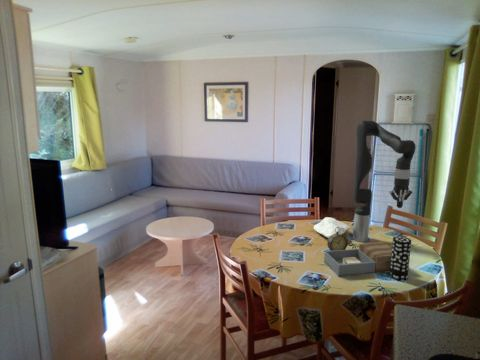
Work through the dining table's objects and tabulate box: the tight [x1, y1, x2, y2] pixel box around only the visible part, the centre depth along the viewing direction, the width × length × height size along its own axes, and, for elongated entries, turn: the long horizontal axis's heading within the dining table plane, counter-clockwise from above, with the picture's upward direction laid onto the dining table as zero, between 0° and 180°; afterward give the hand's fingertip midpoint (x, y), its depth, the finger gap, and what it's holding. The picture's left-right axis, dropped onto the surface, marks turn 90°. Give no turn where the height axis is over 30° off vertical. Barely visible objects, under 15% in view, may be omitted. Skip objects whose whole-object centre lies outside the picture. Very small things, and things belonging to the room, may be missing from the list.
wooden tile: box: [343, 257, 361, 264], centre depth 193 cm, size 7×7×3 cm
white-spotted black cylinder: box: [389, 236, 412, 282], centre depth 180 cm, size 8×8×20 cm
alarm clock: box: [326, 227, 348, 251], centre depth 209 cm, size 11×5×16 cm, turn 105°
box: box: [323, 248, 376, 278], centre depth 192 cm, size 18×20×6 cm
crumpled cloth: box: [313, 216, 351, 239], centre depth 241 cm, size 24×35×9 cm
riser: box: [358, 241, 392, 274], centre depth 195 cm, size 18×14×9 cm
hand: (399, 207), depth 201 cm, fingers closed
